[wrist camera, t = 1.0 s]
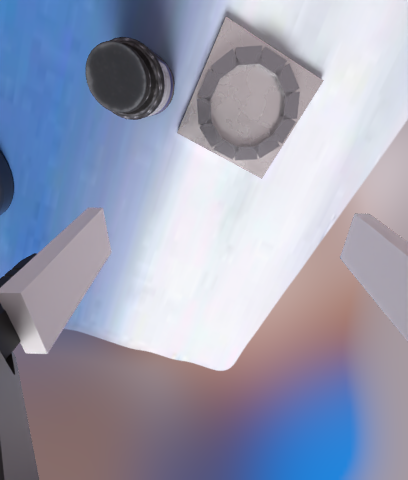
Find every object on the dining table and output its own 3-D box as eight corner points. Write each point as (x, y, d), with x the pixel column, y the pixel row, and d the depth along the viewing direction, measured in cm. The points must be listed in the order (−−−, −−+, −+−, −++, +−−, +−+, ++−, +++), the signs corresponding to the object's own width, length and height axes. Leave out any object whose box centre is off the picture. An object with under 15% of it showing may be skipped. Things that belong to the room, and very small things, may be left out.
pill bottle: (111, 86, 29) (59, 80, 20) (142, 37, 27) (101, 2, 17) (153, 126, 31) (126, 138, 21) (186, 83, 29) (171, 76, 19)
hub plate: (177, 132, 31) (175, 134, 29) (225, 18, 26) (226, 12, 24) (260, 176, 33) (263, 181, 32) (320, 81, 28) (327, 79, 26)
